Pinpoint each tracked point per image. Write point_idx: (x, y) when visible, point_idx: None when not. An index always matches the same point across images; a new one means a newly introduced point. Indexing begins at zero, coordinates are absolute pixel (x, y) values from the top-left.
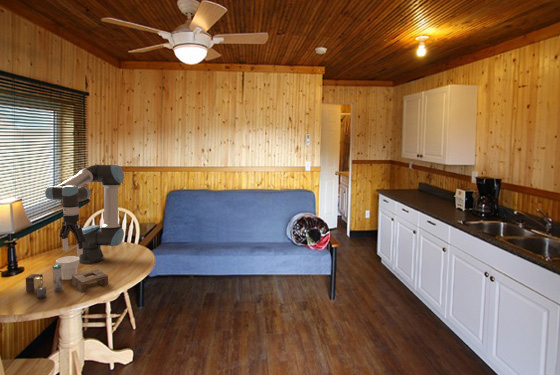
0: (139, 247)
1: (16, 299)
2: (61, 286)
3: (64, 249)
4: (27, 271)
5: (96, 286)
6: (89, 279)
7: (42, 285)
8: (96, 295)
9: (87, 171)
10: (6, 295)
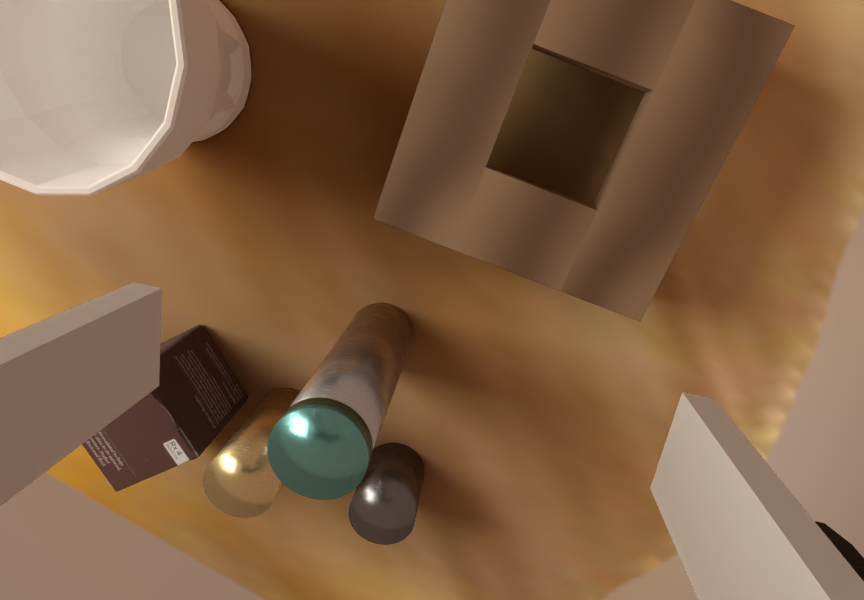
0: None
1: (272, 543)
2: (405, 336)
3: (147, 376)
4: None
5: None
6: (664, 234)
7: None
8: (786, 282)
9: None
10: (151, 523)
